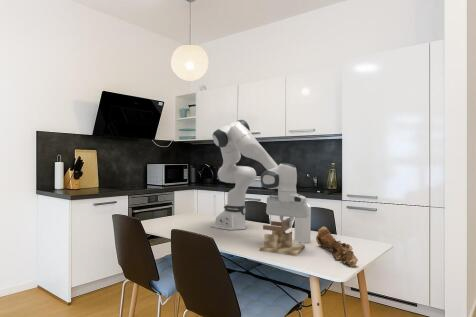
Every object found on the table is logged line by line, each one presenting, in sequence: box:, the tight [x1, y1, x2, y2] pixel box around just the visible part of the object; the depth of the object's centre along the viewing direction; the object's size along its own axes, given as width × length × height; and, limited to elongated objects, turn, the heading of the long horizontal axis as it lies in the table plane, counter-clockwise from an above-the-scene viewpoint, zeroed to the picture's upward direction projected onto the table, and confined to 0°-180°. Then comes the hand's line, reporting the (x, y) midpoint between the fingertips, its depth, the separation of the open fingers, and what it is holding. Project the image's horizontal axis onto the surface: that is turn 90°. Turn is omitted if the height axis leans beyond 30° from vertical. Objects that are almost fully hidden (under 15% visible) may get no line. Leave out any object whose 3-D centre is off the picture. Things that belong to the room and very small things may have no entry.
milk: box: [294, 199, 312, 244], centre depth 174 cm, size 6×6×22 cm
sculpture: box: [315, 226, 359, 268], centre depth 150 cm, size 9×14×35 cm
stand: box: [259, 230, 306, 257], centre depth 158 cm, size 18×16×8 cm
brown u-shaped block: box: [262, 217, 293, 233], centre depth 159 cm, size 10×13×4 cm
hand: (286, 225), depth 157 cm, fingers closed on brown u-shaped block
